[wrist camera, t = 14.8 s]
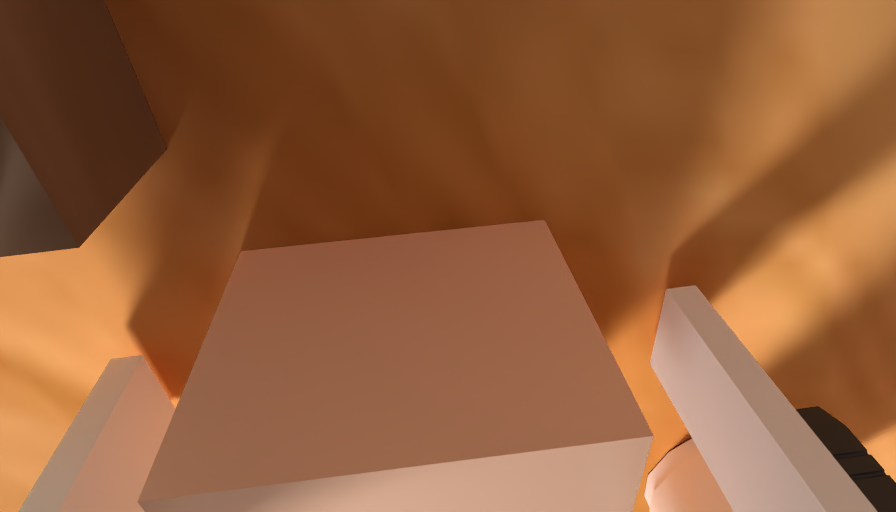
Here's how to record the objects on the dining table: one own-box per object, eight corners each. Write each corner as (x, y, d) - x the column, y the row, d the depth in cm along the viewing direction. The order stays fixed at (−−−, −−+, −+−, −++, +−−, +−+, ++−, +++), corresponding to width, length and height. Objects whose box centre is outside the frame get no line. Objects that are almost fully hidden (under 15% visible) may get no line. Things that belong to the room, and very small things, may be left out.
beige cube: (307, 436, 16) (273, 679, 11) (241, 248, 12) (136, 501, 7) (531, 408, 16) (597, 632, 11) (543, 217, 12) (654, 436, 7)
